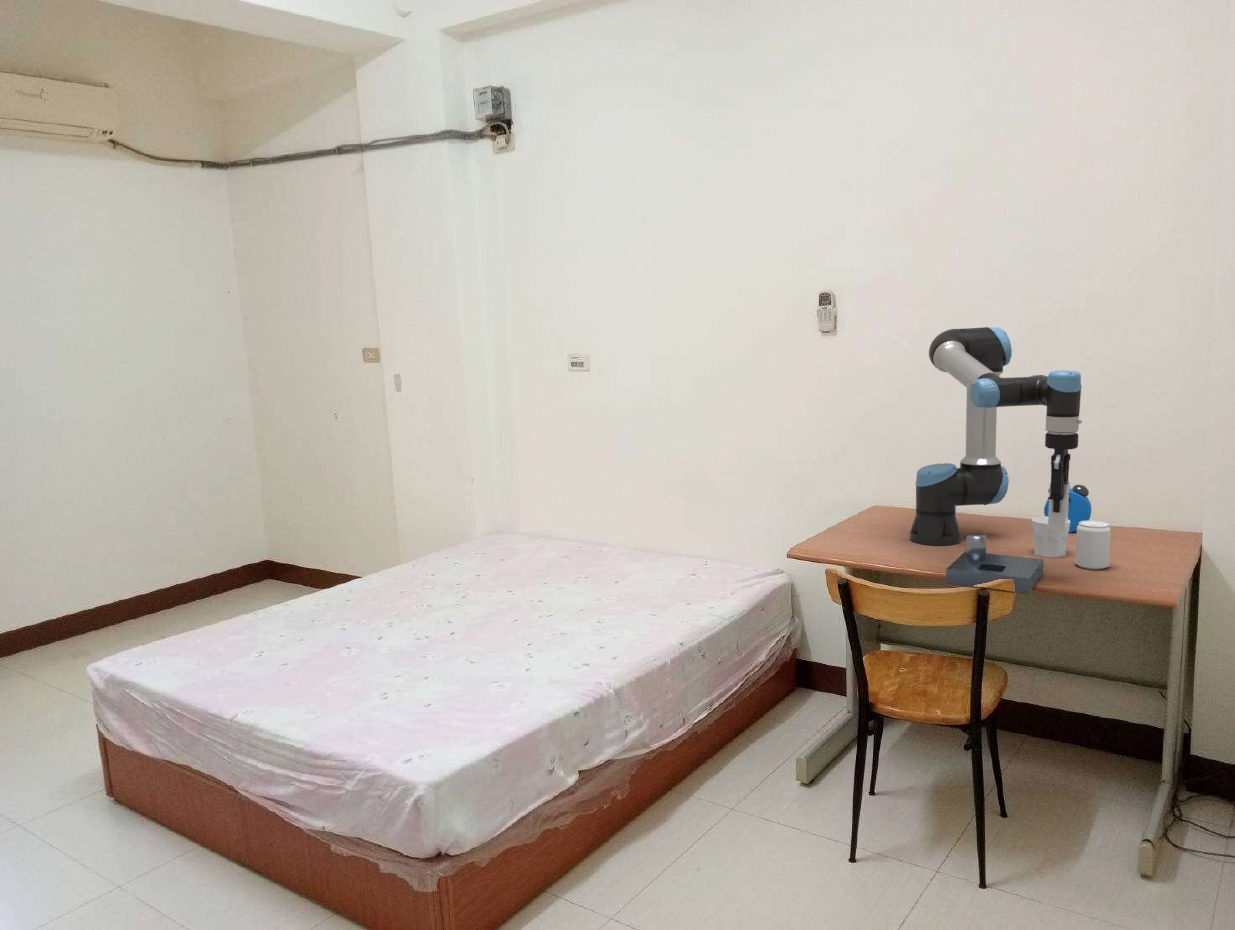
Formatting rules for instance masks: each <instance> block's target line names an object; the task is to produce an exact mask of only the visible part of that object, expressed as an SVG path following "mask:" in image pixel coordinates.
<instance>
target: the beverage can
mask: <svg viewBox="0 0 1235 930" xmlns="http://www.w3.org/2000/svg"><path fill="white" fill-rule="evenodd" d="M1075 537H1076V540H1075V541H1076V542H1075V564H1076V565H1077V566H1079V567H1080V568H1082V569H1086V570H1095V571H1098V570H1104V569H1106V568H1108V567H1109V566H1110V555H1111V553H1110V552H1111V527H1110V524H1109V523H1108V522H1104V521H1101V520H1100V521H1099V520H1089V521H1081V522H1079V525H1078V526H1077V531H1076V535H1075Z"/></svg>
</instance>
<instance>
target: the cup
mask: <svg viewBox="0 0 1235 930" xmlns="http://www.w3.org/2000/svg"><path fill="white" fill-rule="evenodd" d="M1030 520H1031V529H1032V536H1033V552H1034V555H1036V556H1040V557H1043V558H1057V559H1058V558H1061V557H1066V553H1067V544H1068V539H1069V533H1070V532H1069V527H1070V520H1068V527H1067V529H1066V530H1065V531H1058V530H1048V516H1046V517H1045V516H1036V517H1032V518H1031V519H1030Z"/></svg>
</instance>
